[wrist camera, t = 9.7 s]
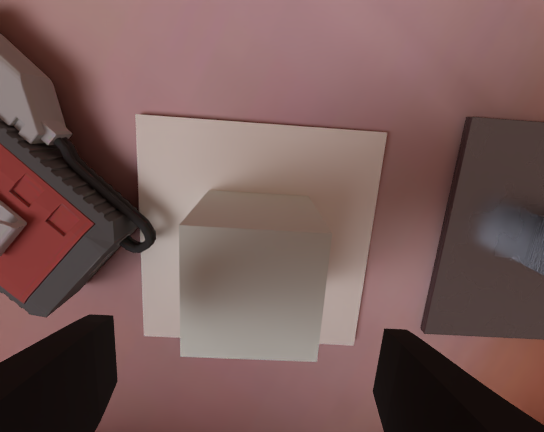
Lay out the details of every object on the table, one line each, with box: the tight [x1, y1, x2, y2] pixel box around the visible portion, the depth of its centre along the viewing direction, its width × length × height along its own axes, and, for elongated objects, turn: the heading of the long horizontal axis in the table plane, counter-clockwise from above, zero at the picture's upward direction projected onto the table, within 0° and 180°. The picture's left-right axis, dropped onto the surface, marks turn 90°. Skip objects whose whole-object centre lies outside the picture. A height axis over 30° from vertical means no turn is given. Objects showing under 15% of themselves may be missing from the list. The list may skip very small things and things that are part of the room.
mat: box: [135, 114, 387, 346], centre depth 17 cm, size 12×12×1 cm
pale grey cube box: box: [179, 190, 332, 362], centre depth 14 cm, size 5×5×6 cm
